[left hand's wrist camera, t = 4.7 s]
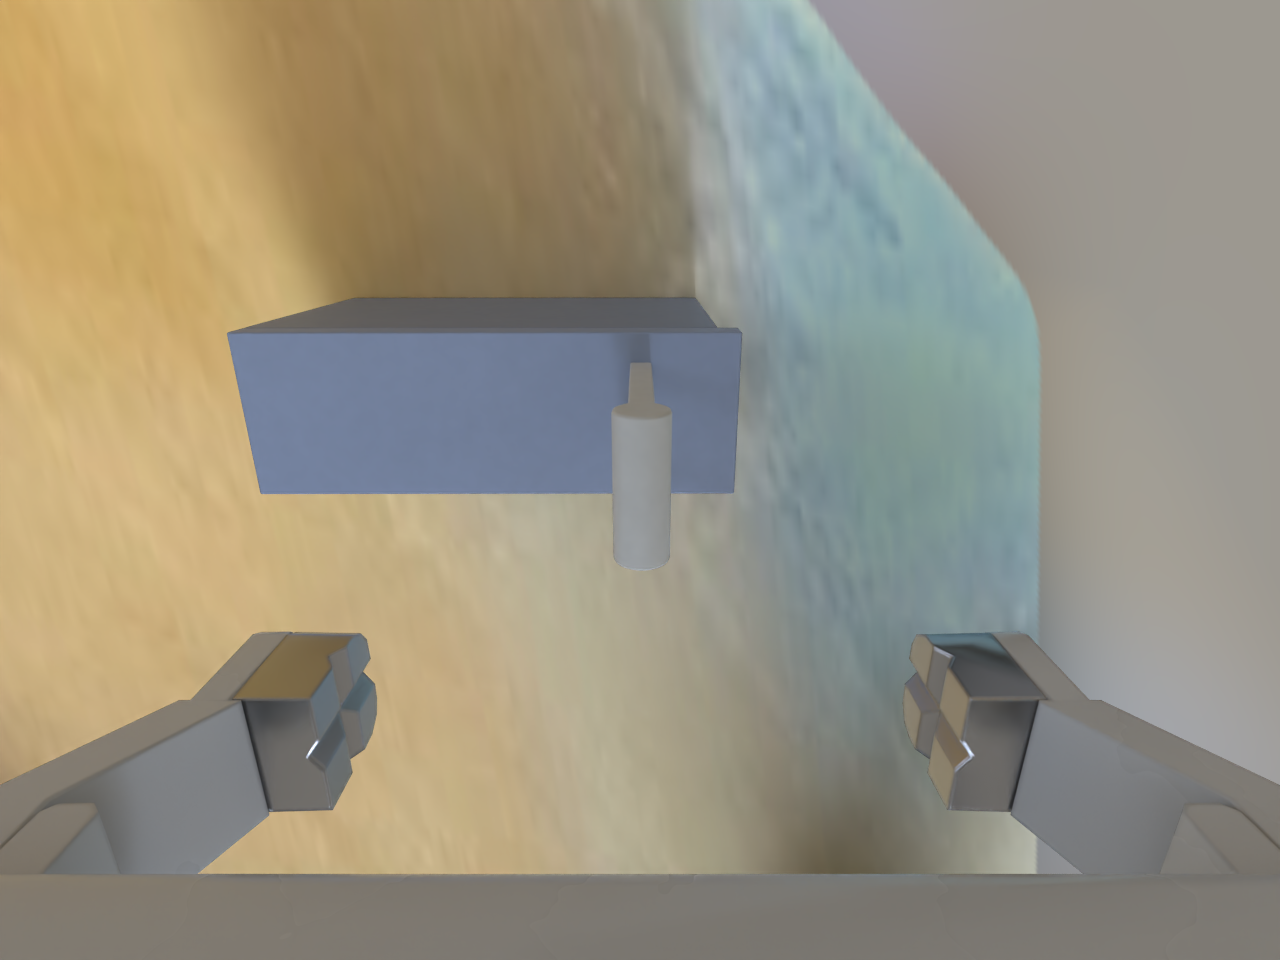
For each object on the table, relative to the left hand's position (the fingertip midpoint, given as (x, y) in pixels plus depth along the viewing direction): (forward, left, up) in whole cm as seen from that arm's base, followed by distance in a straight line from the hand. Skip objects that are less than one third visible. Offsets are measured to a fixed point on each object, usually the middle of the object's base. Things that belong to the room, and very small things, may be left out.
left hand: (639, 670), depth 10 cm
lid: (+3, +4, -15) cm, 16 cm away
